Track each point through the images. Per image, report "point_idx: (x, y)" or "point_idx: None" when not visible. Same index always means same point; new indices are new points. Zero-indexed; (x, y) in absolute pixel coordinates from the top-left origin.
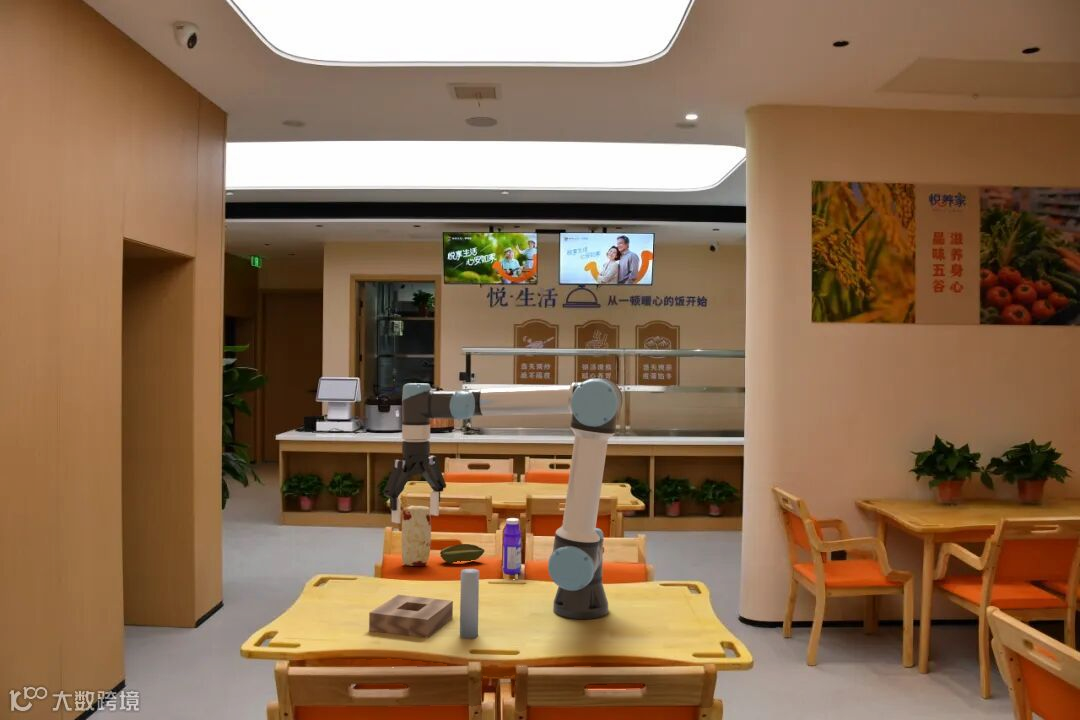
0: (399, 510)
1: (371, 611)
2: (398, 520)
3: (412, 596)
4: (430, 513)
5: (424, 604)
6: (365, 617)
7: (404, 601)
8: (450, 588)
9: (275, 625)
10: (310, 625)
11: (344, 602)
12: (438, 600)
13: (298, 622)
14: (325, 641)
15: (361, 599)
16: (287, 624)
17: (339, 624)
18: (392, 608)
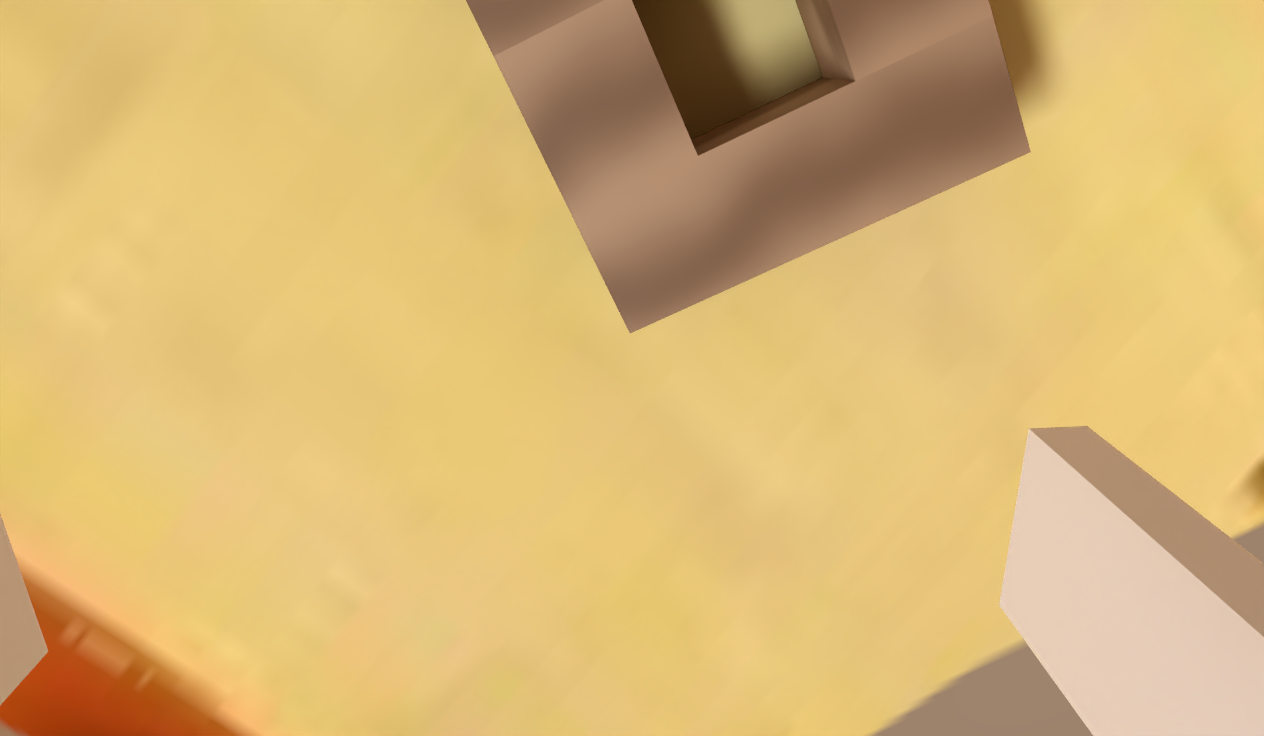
0: (1249, 590)
1: (1003, 163)
2: (1118, 452)
3: (584, 230)
4: (30, 656)
5: (637, 17)
6: (828, 345)
7: (701, 178)
8: (84, 429)
9: None
10: None
11: (734, 617)
12: (503, 3)
13: None
14: (1246, 171)
15: (637, 601)
16: None
17: (1000, 348)
18: (868, 108)
